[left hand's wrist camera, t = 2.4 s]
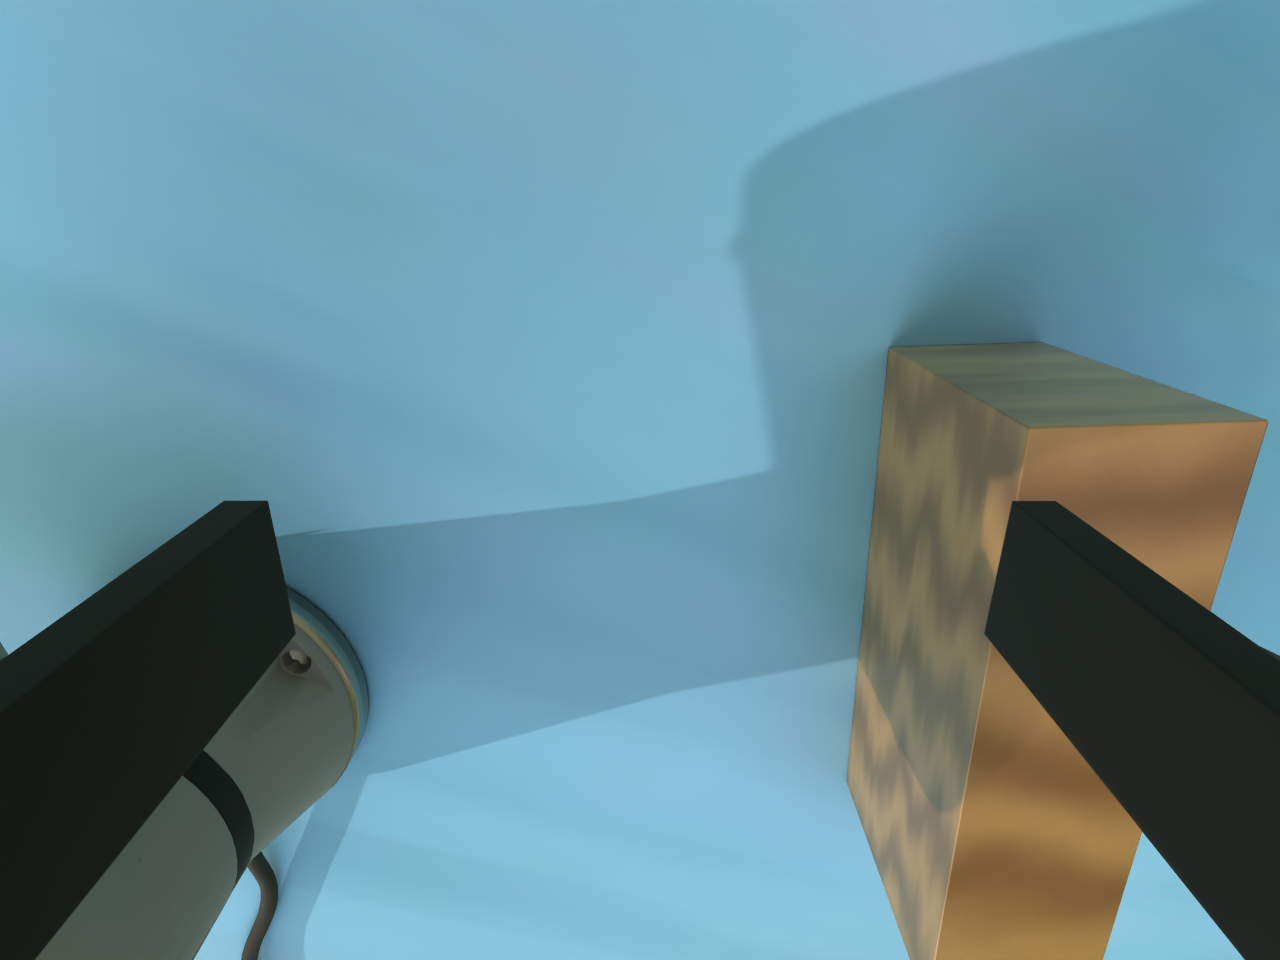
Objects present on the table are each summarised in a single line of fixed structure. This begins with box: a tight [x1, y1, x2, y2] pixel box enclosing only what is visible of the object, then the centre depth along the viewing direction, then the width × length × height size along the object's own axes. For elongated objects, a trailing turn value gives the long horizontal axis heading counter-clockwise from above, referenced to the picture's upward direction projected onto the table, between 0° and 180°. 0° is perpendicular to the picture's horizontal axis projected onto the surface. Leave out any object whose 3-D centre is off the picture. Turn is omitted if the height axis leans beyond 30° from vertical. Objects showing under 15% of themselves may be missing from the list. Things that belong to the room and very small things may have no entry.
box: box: [847, 342, 1268, 960], centre depth 30 cm, size 25×7×12 cm, turn 2°
